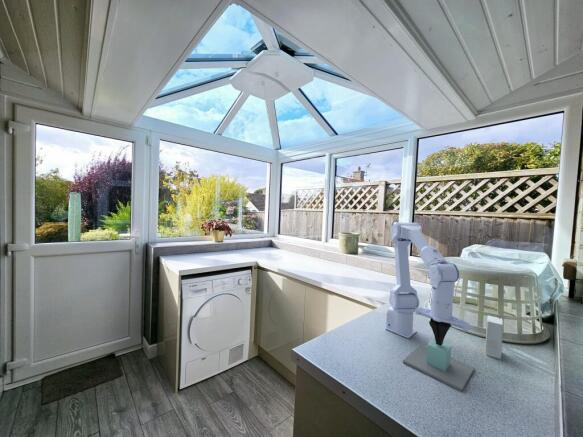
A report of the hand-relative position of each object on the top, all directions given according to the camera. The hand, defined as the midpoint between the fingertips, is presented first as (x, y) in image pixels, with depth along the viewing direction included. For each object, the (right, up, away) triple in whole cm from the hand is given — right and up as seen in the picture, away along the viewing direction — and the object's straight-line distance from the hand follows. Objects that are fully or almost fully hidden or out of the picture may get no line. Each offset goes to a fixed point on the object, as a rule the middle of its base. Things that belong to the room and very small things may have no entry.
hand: (439, 343), depth 77 cm
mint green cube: (0, -7, 0) cm, 7 cm away
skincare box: (+24, -8, +8) cm, 26 cm away
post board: (0, -7, 0) cm, 7 cm away
